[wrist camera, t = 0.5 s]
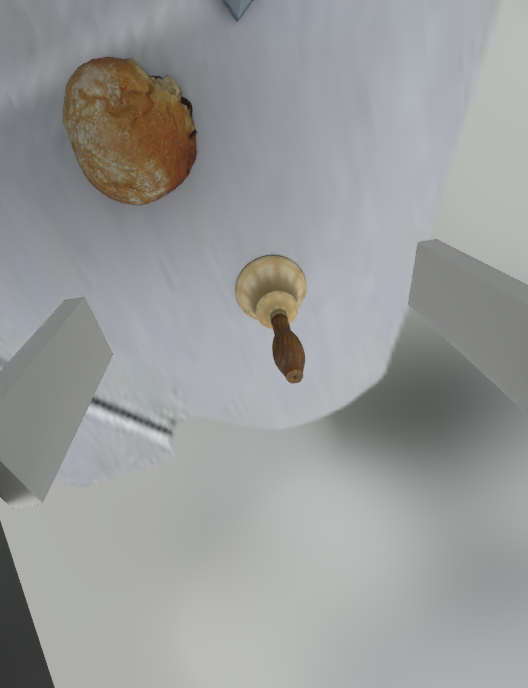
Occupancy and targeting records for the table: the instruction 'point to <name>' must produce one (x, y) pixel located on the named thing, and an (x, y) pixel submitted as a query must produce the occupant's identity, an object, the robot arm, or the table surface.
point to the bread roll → (129, 130)
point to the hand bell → (276, 307)
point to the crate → (237, 7)
